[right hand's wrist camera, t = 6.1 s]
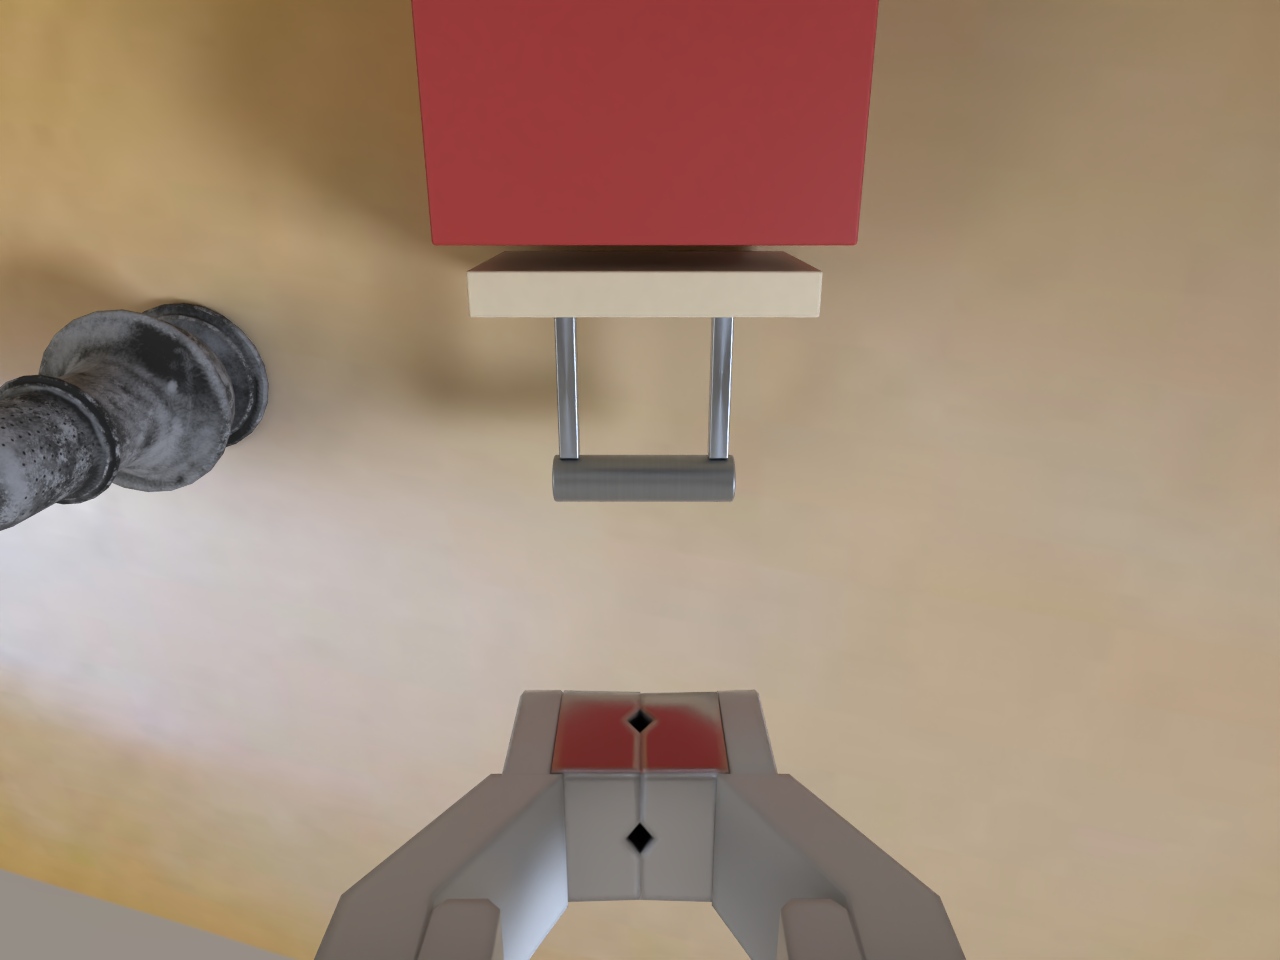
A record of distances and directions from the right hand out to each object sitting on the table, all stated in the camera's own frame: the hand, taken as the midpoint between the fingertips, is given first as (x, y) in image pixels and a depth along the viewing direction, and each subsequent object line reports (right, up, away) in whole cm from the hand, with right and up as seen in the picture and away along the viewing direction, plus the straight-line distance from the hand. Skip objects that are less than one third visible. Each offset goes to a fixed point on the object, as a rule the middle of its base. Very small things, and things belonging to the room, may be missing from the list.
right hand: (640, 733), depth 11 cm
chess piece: (-16, +7, +19) cm, 25 cm away
